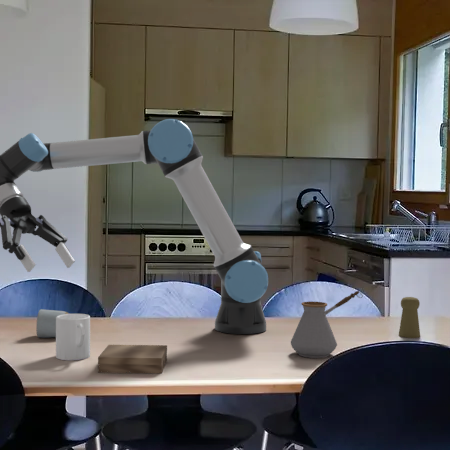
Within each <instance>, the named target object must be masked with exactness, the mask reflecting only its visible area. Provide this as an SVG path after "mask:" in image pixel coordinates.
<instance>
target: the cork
mask: <svg viewBox="0 0 450 450" xmlns="http://www.w3.org/2000/svg"><path fill="white" fill-rule="evenodd" d="M400 307H401V309H402V310H401V317H400V323H399V324H400V325H399V330H398V336H399V337H401V338H406V339H407V338H408V339H416V338H417V339H418V338H420V337H421V329H420V321H419V313H418V310H419V308H420V300H419V298H417V297H413V296H405V297H403V298H401V301H400Z"/></svg>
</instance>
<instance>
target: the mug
mask: <svg viewBox="0 0 450 450" xmlns="http://www.w3.org/2000/svg"><path fill="white" fill-rule="evenodd" d="M90 357H91V316H90V315H89V314H85V313H69V314H63V315H59V316H57V317H56V338H55V358H56V359H57V360H62V361H81V360H86V359H88V358H90Z"/></svg>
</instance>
